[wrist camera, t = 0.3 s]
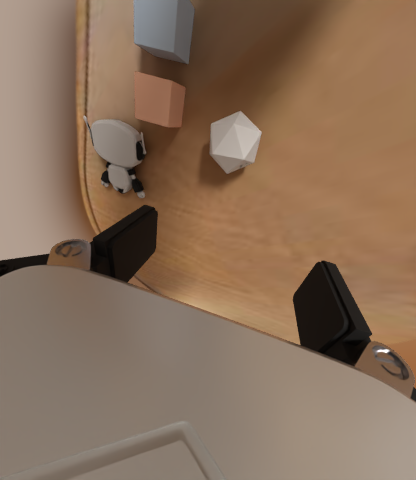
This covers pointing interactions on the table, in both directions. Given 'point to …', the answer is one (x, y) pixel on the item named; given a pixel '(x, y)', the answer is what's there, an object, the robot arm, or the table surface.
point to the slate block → (164, 28)
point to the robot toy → (119, 153)
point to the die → (234, 142)
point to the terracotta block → (158, 100)
